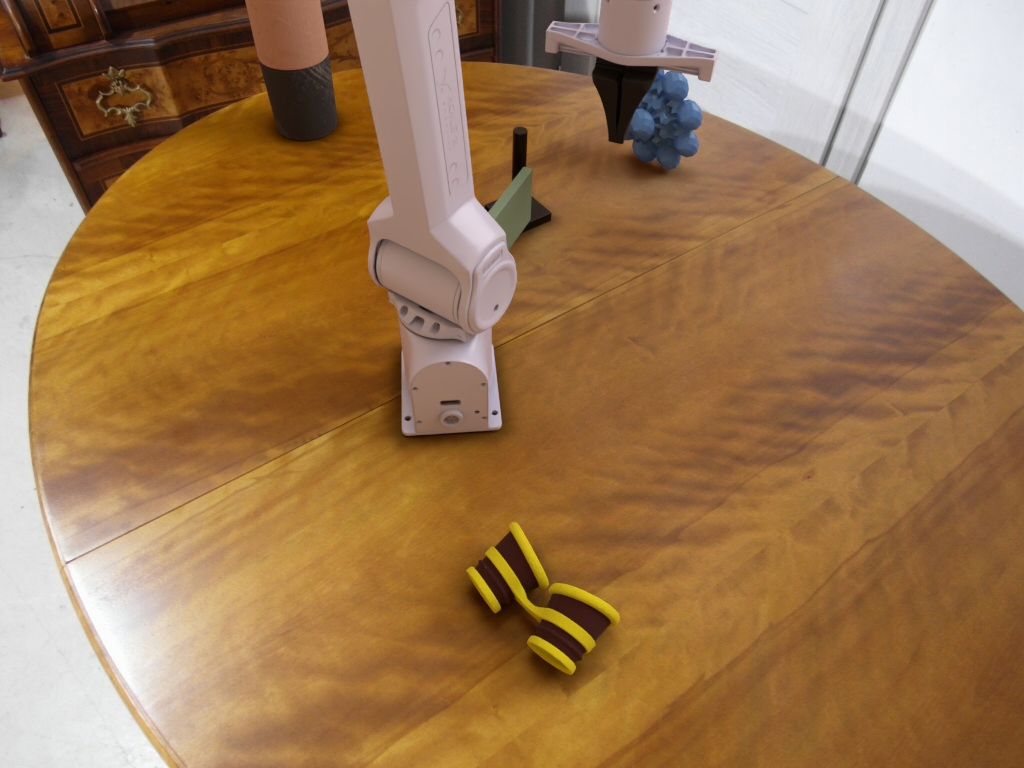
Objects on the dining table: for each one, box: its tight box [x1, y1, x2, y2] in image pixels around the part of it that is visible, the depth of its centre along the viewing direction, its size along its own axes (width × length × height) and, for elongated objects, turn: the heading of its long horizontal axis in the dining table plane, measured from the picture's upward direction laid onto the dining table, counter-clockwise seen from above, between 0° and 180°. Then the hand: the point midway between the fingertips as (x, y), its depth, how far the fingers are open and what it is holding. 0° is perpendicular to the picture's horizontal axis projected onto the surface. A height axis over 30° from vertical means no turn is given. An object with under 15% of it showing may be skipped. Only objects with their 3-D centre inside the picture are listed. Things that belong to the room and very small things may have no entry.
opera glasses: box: [465, 521, 621, 676], centre depth 51 cm, size 10×5×5 cm, turn 45°
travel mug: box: [244, 0, 338, 142], centre depth 84 cm, size 8×8×20 cm
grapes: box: [625, 69, 703, 170], centre depth 83 cm, size 12×7×12 cm, turn 54°
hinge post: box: [484, 126, 552, 234], centre depth 77 cm, size 5×5×10 cm
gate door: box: [488, 166, 534, 251], centre depth 73 cm, size 12×2×6 cm, turn 156°
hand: (618, 137), depth 72 cm, fingers closed
